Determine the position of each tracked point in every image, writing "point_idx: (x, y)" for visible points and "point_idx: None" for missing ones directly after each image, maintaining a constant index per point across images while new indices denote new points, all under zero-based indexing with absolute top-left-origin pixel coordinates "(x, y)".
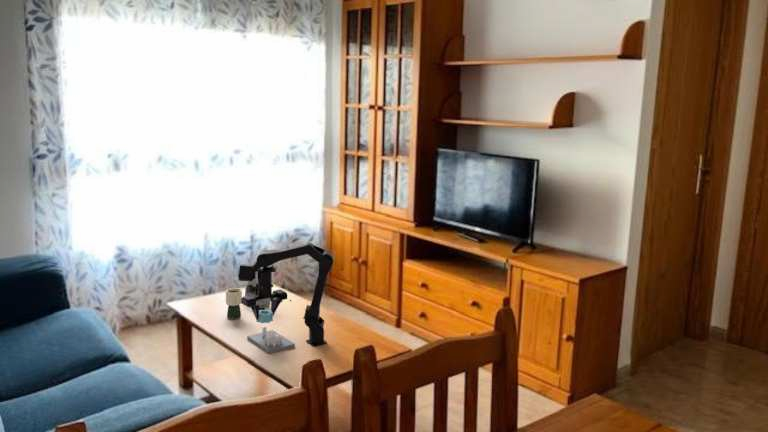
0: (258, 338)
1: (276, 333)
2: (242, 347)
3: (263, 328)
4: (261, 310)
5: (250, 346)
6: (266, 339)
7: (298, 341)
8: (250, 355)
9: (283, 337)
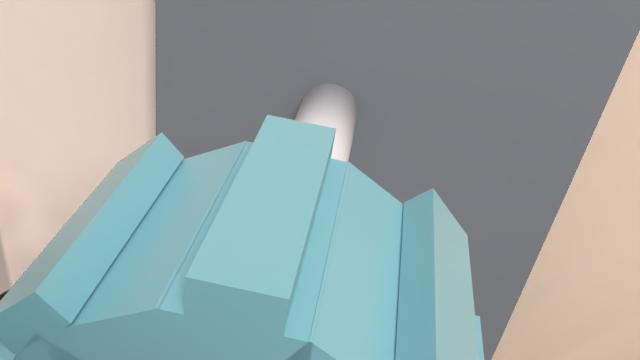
0: (243, 78)
1: (573, 121)
2: (3, 52)
3: None
4: (234, 349)
5: (100, 97)
6: None
7: (607, 355)
8: (9, 255)
9: (514, 276)
